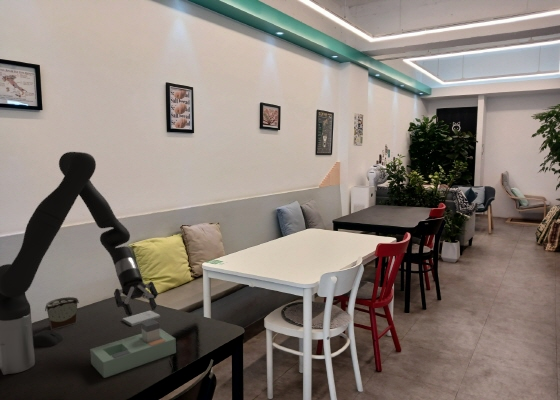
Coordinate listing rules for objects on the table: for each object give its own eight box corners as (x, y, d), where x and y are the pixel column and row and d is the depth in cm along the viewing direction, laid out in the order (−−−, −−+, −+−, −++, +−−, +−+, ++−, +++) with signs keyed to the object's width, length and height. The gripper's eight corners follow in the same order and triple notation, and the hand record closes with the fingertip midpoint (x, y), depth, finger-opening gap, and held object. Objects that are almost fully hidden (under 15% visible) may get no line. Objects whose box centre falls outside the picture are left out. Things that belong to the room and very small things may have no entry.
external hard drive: (122, 322, 174) (150, 313, 183) (131, 327, 168) (160, 318, 177) (122, 318, 173) (149, 309, 182) (131, 323, 168) (159, 314, 177)
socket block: (104, 378, 129) (103, 361, 129) (91, 363, 138) (90, 348, 138) (176, 352, 145) (175, 338, 144) (160, 341, 154) (159, 327, 153)
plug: (148, 355, 142) (146, 326, 141) (142, 350, 146) (141, 322, 145) (160, 351, 145) (159, 322, 144) (154, 346, 149) (153, 319, 147)
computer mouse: (53, 347, 151) (52, 336, 151) (24, 346, 152) (23, 335, 152) (64, 339, 157) (63, 329, 157) (35, 338, 158) (35, 328, 158)
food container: (75, 317, 177) (73, 294, 176) (80, 322, 173) (78, 298, 172) (42, 326, 169) (40, 302, 168) (47, 331, 164) (45, 306, 163)
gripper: (110, 271, 148) (125, 311, 141) (149, 264, 158) (164, 301, 150) (106, 282, 153) (119, 322, 146) (144, 275, 162) (158, 312, 155)
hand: (142, 312), depth 148 cm, fingers open, 8 cm apart
